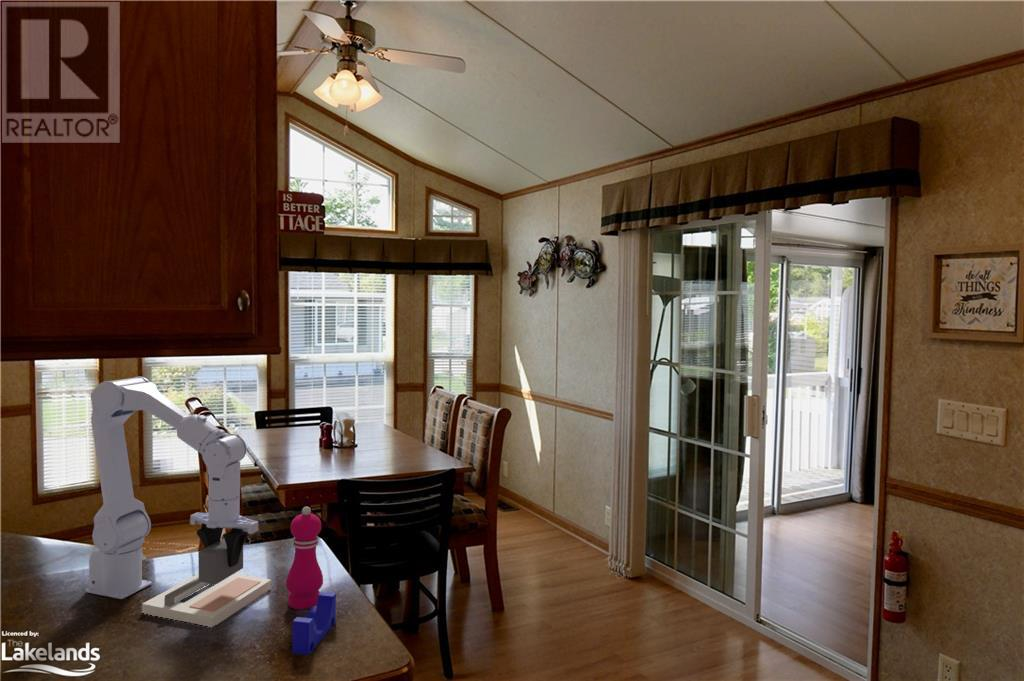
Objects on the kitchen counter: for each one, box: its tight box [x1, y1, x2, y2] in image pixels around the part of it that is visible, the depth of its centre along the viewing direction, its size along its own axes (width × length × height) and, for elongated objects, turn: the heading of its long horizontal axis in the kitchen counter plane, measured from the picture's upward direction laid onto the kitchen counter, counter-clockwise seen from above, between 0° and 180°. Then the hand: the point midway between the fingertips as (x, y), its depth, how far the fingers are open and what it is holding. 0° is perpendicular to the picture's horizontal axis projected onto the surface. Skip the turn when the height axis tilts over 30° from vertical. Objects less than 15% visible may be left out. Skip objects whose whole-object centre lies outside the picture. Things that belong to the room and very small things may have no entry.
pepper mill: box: [285, 506, 324, 610], centre depth 136 cm, size 7×7×20 cm
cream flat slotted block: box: [141, 572, 272, 629], centre depth 136 cm, size 16×18×4 cm
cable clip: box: [291, 591, 337, 656], centre depth 124 cm, size 12×4×6 cm, turn 173°
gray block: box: [197, 538, 244, 584], centre depth 134 cm, size 4×8×6 cm, turn 164°
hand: (223, 563), depth 134 cm, fingers closed on gray block, 4 cm apart
